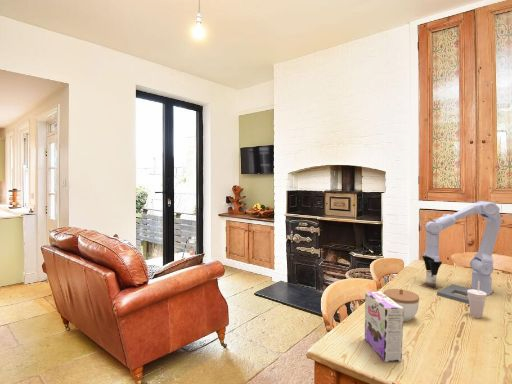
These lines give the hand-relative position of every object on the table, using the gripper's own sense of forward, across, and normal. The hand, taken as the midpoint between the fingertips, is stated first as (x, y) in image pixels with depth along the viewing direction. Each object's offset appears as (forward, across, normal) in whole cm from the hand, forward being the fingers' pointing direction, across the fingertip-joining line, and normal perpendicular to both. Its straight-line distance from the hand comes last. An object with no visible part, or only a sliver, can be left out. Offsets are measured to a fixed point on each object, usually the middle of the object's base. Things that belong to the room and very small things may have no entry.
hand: (431, 272), depth 155 cm
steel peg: (+7, 0, 0) cm, 7 cm away
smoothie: (+8, +31, +6) cm, 33 cm away
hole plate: (+8, +10, +10) cm, 16 cm away
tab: (+8, 0, 0) cm, 8 cm away
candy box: (+8, +66, -35) cm, 75 cm away
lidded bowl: (+8, +39, -24) cm, 46 cm away
